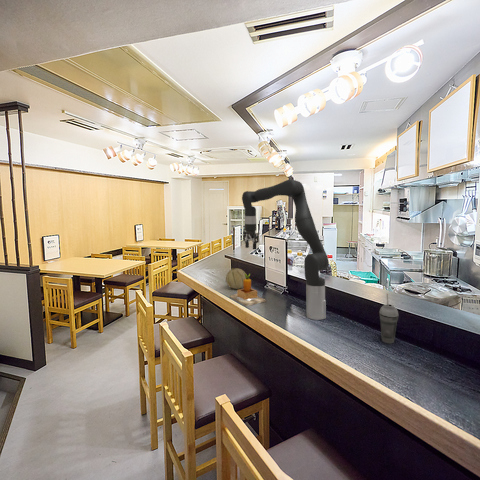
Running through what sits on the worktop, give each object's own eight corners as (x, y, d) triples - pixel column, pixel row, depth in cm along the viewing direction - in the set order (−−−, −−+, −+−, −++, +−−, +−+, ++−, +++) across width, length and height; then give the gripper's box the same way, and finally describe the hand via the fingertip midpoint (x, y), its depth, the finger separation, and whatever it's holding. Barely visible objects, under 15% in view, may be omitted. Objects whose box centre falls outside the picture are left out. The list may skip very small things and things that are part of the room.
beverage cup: (387, 346, 112) (389, 298, 110) (374, 338, 119) (375, 292, 117) (402, 343, 114) (403, 296, 112) (388, 335, 121) (389, 291, 119)
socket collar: (250, 293, 184) (250, 286, 183) (261, 298, 172) (261, 291, 172) (233, 296, 177) (233, 289, 177) (243, 302, 166) (243, 294, 165)
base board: (248, 293, 187) (248, 291, 187) (265, 301, 170) (265, 299, 170) (230, 297, 180) (230, 295, 180) (246, 306, 163) (246, 304, 163)
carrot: (251, 295, 177) (250, 272, 176) (251, 297, 172) (251, 273, 171) (243, 295, 177) (242, 272, 175) (243, 297, 172) (243, 274, 170)
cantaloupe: (250, 289, 196) (249, 268, 194) (230, 292, 190) (229, 271, 189) (242, 284, 209) (241, 265, 208) (223, 287, 204) (223, 267, 202)
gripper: (261, 223, 172) (262, 249, 174) (249, 222, 184) (249, 246, 186) (251, 224, 169) (252, 250, 170) (239, 223, 181) (239, 247, 183)
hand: (250, 248), depth 178 cm, fingers open, 8 cm apart
